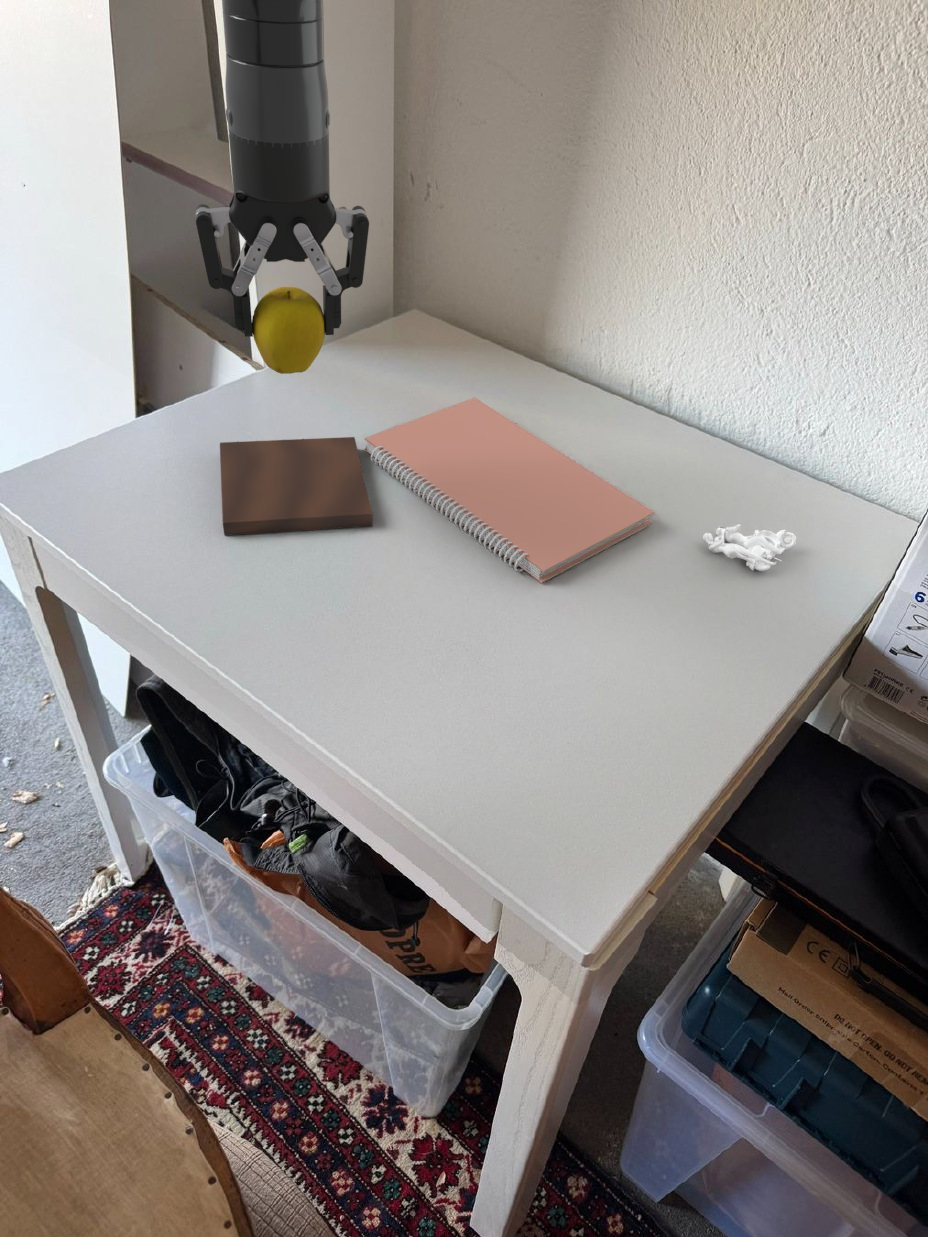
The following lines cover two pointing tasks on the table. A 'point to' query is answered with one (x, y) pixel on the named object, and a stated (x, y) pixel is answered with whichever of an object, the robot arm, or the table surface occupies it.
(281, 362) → the apple
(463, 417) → the notebook
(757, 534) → the figurine
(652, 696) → the table surface
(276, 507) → the cutting board
